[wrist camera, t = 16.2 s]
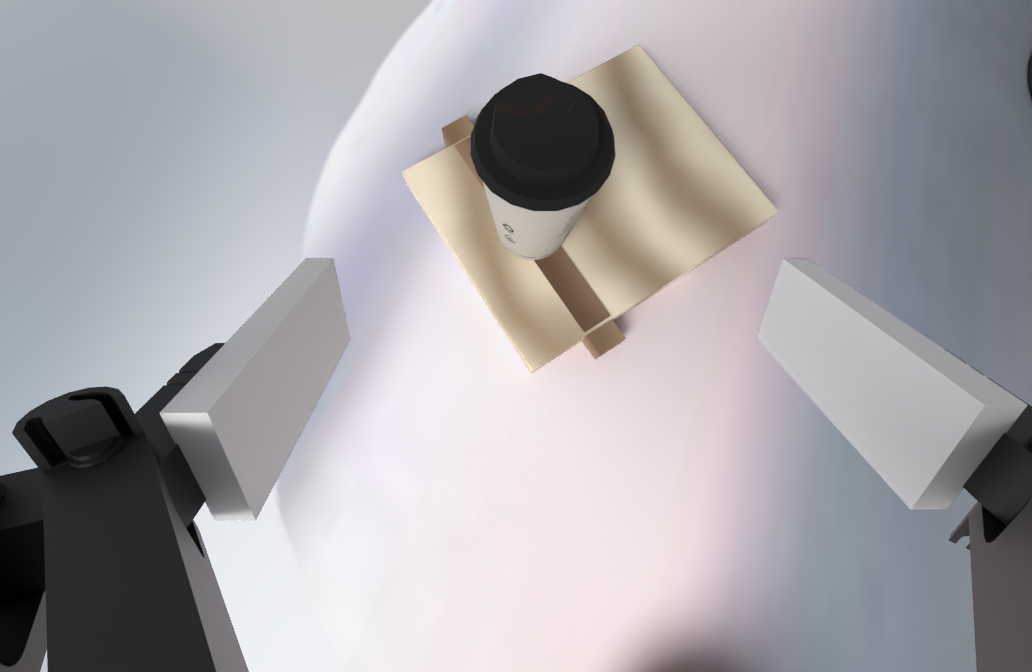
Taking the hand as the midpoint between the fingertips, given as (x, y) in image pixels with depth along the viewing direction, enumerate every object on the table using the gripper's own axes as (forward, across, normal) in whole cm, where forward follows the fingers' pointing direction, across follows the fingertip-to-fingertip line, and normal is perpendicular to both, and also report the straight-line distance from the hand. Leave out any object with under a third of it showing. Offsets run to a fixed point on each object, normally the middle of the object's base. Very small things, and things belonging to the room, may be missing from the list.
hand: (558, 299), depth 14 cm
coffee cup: (+17, 0, -4) cm, 17 cm away
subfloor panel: (+20, +4, -3) cm, 21 cm away
